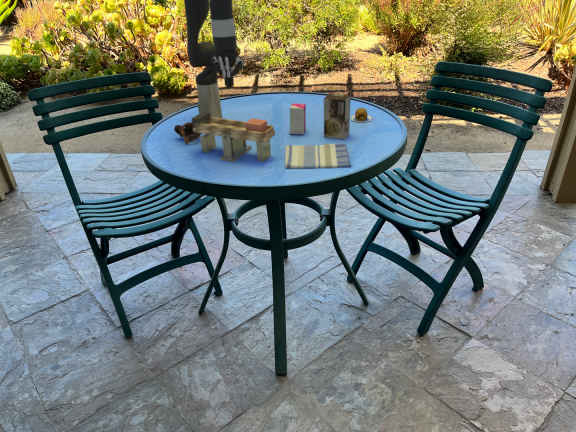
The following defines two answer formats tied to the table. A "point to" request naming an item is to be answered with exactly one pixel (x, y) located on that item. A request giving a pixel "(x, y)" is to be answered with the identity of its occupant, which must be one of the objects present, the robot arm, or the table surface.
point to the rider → (256, 125)
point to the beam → (229, 128)
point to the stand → (234, 147)
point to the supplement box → (297, 119)
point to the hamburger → (361, 115)
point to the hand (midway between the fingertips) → (229, 87)
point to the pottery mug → (187, 132)
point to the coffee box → (336, 116)
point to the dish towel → (317, 156)
